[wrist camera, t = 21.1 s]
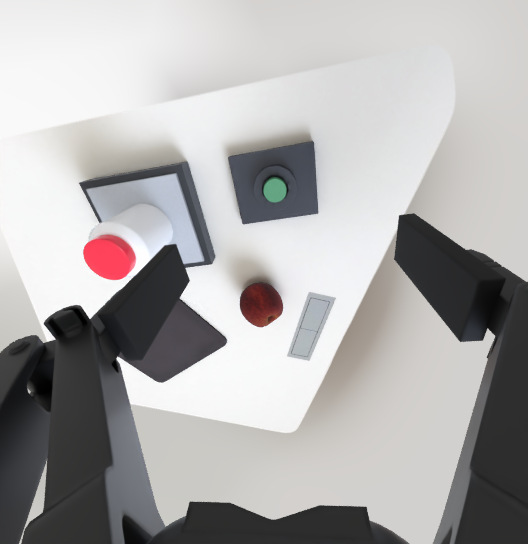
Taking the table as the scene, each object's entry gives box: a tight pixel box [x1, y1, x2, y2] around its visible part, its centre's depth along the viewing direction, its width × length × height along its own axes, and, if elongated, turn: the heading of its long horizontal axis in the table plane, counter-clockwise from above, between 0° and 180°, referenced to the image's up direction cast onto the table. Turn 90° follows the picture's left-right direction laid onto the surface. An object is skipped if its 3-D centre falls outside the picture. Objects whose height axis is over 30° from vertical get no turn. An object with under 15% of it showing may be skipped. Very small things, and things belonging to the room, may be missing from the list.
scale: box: [79, 162, 215, 268], centre depth 41 cm, size 16×16×3 cm
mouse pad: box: [118, 299, 227, 382], centre depth 56 cm, size 25×21×1 cm
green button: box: [263, 177, 287, 202], centre depth 35 cm, size 3×3×2 cm
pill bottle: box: [83, 204, 173, 280], centre depth 35 cm, size 8×8×11 cm
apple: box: [240, 282, 283, 327], centre depth 45 cm, size 7×8×8 cm
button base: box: [228, 141, 318, 224], centre depth 37 cm, size 12×10×3 cm
